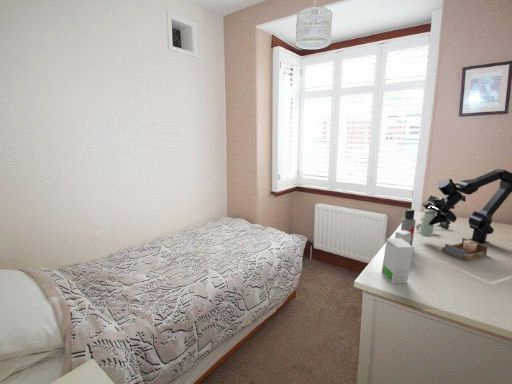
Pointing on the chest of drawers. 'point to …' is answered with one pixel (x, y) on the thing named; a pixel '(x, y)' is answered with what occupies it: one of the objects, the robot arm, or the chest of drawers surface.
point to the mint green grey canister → (427, 222)
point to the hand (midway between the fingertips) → (425, 222)
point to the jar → (469, 246)
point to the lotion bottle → (409, 223)
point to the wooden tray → (480, 252)
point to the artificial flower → (442, 224)
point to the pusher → (454, 251)
